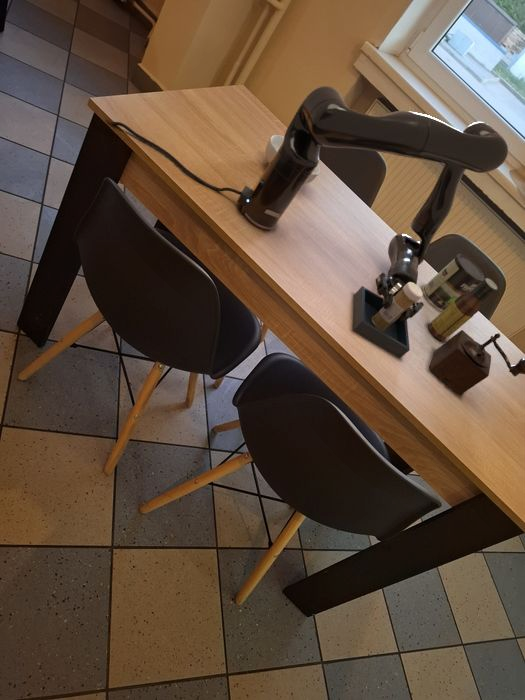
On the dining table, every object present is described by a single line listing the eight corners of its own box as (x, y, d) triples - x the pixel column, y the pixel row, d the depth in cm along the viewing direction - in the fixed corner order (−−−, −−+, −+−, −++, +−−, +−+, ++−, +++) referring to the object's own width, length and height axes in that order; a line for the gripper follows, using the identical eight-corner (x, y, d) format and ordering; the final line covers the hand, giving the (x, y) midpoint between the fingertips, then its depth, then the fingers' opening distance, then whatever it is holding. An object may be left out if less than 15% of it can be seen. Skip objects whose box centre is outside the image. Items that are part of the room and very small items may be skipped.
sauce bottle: (444, 332, 139) (502, 286, 127) (444, 345, 135) (504, 298, 122) (426, 319, 138) (482, 271, 126) (426, 331, 134) (484, 283, 121)
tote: (352, 330, 115) (362, 321, 113) (353, 294, 125) (362, 285, 123) (399, 358, 119) (409, 350, 116) (397, 321, 129) (406, 313, 126)
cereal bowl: (314, 187, 152) (328, 168, 147) (292, 199, 139) (306, 179, 135) (274, 150, 153) (286, 130, 148) (248, 158, 140) (261, 137, 135)
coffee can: (453, 313, 150) (490, 282, 141) (433, 311, 144) (471, 279, 135) (435, 287, 155) (470, 255, 146) (416, 284, 149) (451, 251, 139)
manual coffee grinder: (427, 371, 122) (485, 326, 110) (434, 349, 130) (489, 306, 119) (474, 412, 122) (537, 373, 110) (478, 388, 130) (537, 349, 119)
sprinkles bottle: (387, 330, 122) (426, 295, 114) (377, 332, 119) (416, 297, 111) (377, 316, 124) (415, 280, 115) (367, 317, 121) (405, 281, 112)
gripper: (390, 251, 125) (382, 284, 112) (434, 284, 126) (431, 320, 113) (371, 271, 129) (361, 305, 117) (413, 303, 131) (408, 339, 118)
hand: (395, 312), depth 115 cm, fingers closed on sprinkles bottle, 4 cm apart
